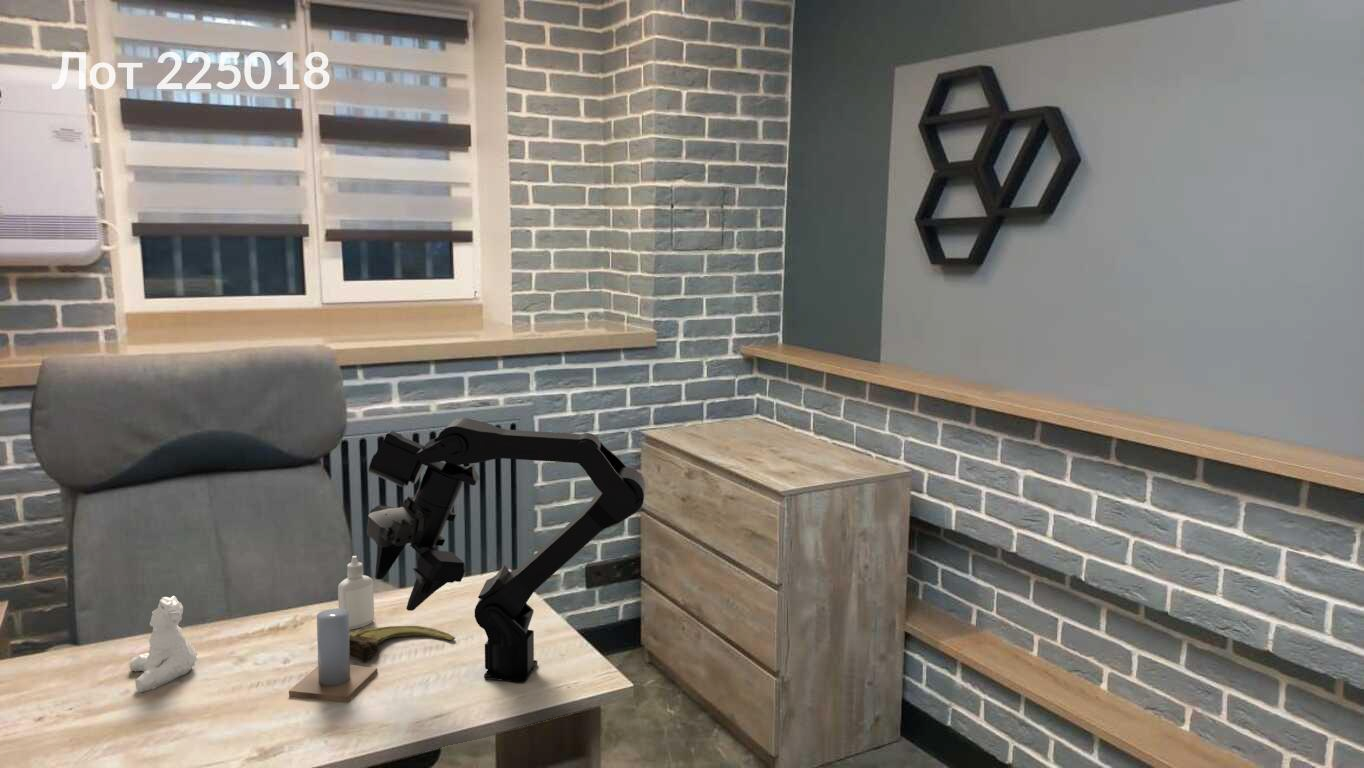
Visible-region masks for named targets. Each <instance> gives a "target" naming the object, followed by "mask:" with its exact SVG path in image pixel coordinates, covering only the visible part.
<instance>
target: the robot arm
mask: <svg viewBox="0 0 1364 768" xmlns="http://www.w3.org/2000/svg"><path fill="white" fill-rule="evenodd" d="M499 459H505V460H506V459H507V460H522V461H524V460H525V461H537V462H541V461H542V462H551V463H552V462H556V463H573V464H578V465H579V466H580V467H581V468H582V469H583V470H584V471H585V473H586V474H587V476H588V477H589V478H590V480H591V481H592V482H593V483H592V484H594V485H595V487H596V488H597V489H598V490H597V492H596V493H595V495H594V496H593V498H592V499H591V501H590V502H589V503H588V505H587V506H586V507H585V508H584V509H583V510H582V511H581V512H580V513H579V514H578V515H576V516H575V517H574V518H573V519H572V520H570V522H569V523H568V524H567V525H565V526H564V527H563V528H562V529H561V530H560V531H559V532H558V533H557V534H556V535H554V536H553V537H552V538H551V539H550V540H549V541H548V542H547V543H545V544H544V545H543V546H542V547H541V548H540V549H539V550H538V551H536V553H535V554H533V555H532V556H531V557H530V558H529V559H528V560H527V561H526V562H524V563H523V564H522V565H521V566H520V567H517V568H515V569H513V570H511V571H510V570H509V568H508V567H507V565H506V564H504V565H503V566H502V567H501V568H500V569H499V571H498V572H497V573H496V575H494V576H493V577H491V578H488V579H486V580H485V583H484V584H483V586H482V589H481V590H480V593H479V595H478V597H477V599H479V600H478V601H477V604H476V606H475V608H474V618H475V621H476V624H478V626H479V627H480V628H481V629H482V630H484V632H485V634H486V636H487V641H486V642H485V644H484V669H485V670H487V671H486V672H484V674H483V678H484V679H486V680H487V679H488V680H494V681H495V680H498V681H506V682H507V681H508V682H516V683H525V682H526V681H527V680H528V678H529V677H530V676H531V674H532V673H533V672H534V670H535V669H536V667H537V666H538V660H537V659H535V653H534V652H535V651H534V650H535V648H534V647H535V646H534V645H535V640H534V639H535V638H534V637H535V636H534V635H535V633H534V630H533V629H529V627H530V625H531V624H530V623H531V621H532V618H533V615H534V612H535V611H534V609H533V608H532V607H531V605H529V604H528V601H529V599H530V598H531V596H532V595H533V594H534V593H535V591H536V590H538V589H539V588H540V587H541V586H542V585H543V584H544V583H545V582H547V581H548V580H549V579H550V578H551V577H552V576H553V575H554V574H555V573H556V572H557V571H558V570H561V568H562V567H563V566H564V565H566V564H567V563H568V561H570V560H571V559H572V558H573V557H574V556H575V555H577V554H578V553H579V552H580V551H581V550H583V548H584V547H585V546H586V545H588V543H590V542H591V541H592V540H593V539H594V538H596V536H598V535H599V534H600V533H601V532H603V531H604V530H606V529H609V528H611V527H614V526H616V525H618V524H620V523H622V522H623V521H625V520H627V519H628V518H629V517H632V516H633V515H634V514H636V513H638V511H639V510H640V509H642V506H643V504H644V500H645V490H646V487H645V485H646V483H645V478H644V477H643V475H642V474H641V472H639V471H638V470H637V469H636V468H632V467H628V466H626V464H625V463H624V462H623V460H621V458H619V457H618V456H617V455H616V454H615V453H613V452H612V451H611V450H610V449H609V448H608V447H607V446H605V445H604V443H603V442H602V441H601V440H600V439H599V438H598V436H596V435H595V434H593V433H589V432H585V433H568V432H567V433H566V432H549V431H536V430H521V429H520V430H518V429H508V428H507V429H506V428H502V427H498V426H495V425H493V424H491V423H488V422H484V421H480V420H476V419H471V418H468V417H459V418H457V419H454V420H452V421H451V422H450V423H449V424H448V425H447V426H446V427H445V428H443V429H442V430H441V432H439V434H438V436H437V437H435V438H433V439H431V438H430V439H429V440H428V441H427V442H426V443H425V444H420V443H418V442H416V441H414V440H412V439H409V438H408V437H404V436H403V435H402V434H400V433H398V432H396V431H393V430H390V431H388V432H387V433H386V434H385V437H384V439H383V441H382V442H381V443H380V445H379V447H378V449H377V451H376V452H375V453H374V455H373V456H372V457H371V461H370V463H369V467H368V473H370V474H372V475H375V476H376V477H378V478H381V479H383V480H386V481H388V482H391V483H393V484H395V485H398V486H399V487H403V488H406V487H407V486H409V485H410V483H411V484H413V485H416V484H417V482H418V480H420V479H419V478H420V476H421V475H422V472H423V471H424V469H425V468H424V467H425V466H426V470H425V472H424V474H423V476H422V479H421V481H420V484H419V485H418V487H417V488H418V489H417V490H416V493H415V494H414V496H407V498H405V499H404V500H403V503H402V505H401V506H400V507H395V506H388V505H387V506H386V505H377V506H375V507H374V508H372V509H371V510H370V512H369V514H368V516H367V519H366V522H367V528H366V529H367V530H366V531H367V532H366V535H367V537H369V538H371V539H372V540H373V541H374V542H375V544H376V547H377V548H376V549H377V550H376V563H375V573H374V574H375V576H374V578H375V580H383V578H384V577H385V576H386V575H387V573H389V571H390V569H391V568H392V566H393V565H394V563H395V562H396V561H397V559H398V557H399V556H400V554H401V553H402V552H403V550H404V549H405V547H406V545H409V546H410V547H411V548H412V549H414V551H415V552H417V554H419V557H418V559H417V562H416V563H417V564H416V565H417V567H416V568H415V567H414V568H413V569H412V571H413V572H414V574H415V577H416V580H415V581H414V582H415V583H414V584H413V588H412V590H411V593H410V596H409V598H408V602H407V604H406V605H407V606H406V610H407V611H415V610H416V609H417V608H418V607H419V606H420V605H422V603H424V602H426V600H427V599H428V598H429V597H430V596H432V595H433V594H434V593H435V592H436V591H438V590H439V589H440V588H442V587H443V586H445V585H446V584H448V583H449V584H450V583H451V584H452V583H453V584H454V583H455V582H458V583H459V582H460V583H461V582H462V580H463V578H464V575H465V573H466V571H467V567H466V565H465V562H464V561H463V560H462V559H460V558H459V557H458V556H457V555H456V554H454V552H452V551H444V550H436V548H435V547H436V546H437V547H439V546H440V547H441V546H442V547H443V545H444V544H445V541H446V539H445V538H444V537H443V536H442V533H443V531H444V529H445V526H446V524H447V521H449V522H450V521H451V522H454V521H455V518H456V514H455V512H453V509H454V506H455V504H456V501H457V499H458V496H459V493H460V492H461V489H462V488H463V484H464V483H466V484H468V485H470V486H476V484H477V483H478V482H479V481H480V476H479V474H478V473H477V470H476V466H475V464H478V463H479V464H480V463H483V462H487V461H493V460H499ZM469 464H470V465H469ZM465 465H468V466H465Z"/></svg>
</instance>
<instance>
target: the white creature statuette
mask: <svg viewBox="0 0 1364 768" xmlns="http://www.w3.org/2000/svg"><path fill="white" fill-rule="evenodd" d="M183 613H184V606H183V604H182V603H181V602H180V601H178V598H177V597H176V596H175V595H172V596H171V597H168V596H162V597H161V599H159V603H158V606H157V608H155V609H154V610H152V612H151V614H152V615H151V618H150V622H149V626H150V627H152V628H153V629H152V634H151V635H150V638H149V640H148V642H149V645H150V646H149V651H148V652H147V653H146V652H144V653H141V654H138V655H136V656H134V657H132V658H131V659H130V662H129V670H130V671H131V672H132V671H135V673H137V672H136V671H144V672H143V673H141V675H139V676H138V677H137V678H136V680H135V687H136V691H137V692H138V691H140V692H141V693H145V691H146V692H149V691H152V690H153V689H154V690H155V689H156V688H158V687H161V686H163V685H165V684H167V683H170V682H172V681H174V680H176V679H177V678H178V679H179V678H180V677H182V676H185V675H187V673H189V672H190V671H191V669H192V668H193V667H194V666H195V664H196V661H197V659H198V658H197V656H198V653H197V649H195V647H194V646H193V644H192V643H191V644H190V642H189V641H188V640H186V637H185V636H184V634H183V629H182V627H180V626H179V623H180V622H181V621H182V619H183V617H182V616H183ZM151 689H152V690H151ZM148 690H149V691H148ZM140 692H139V693H140Z"/></svg>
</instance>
